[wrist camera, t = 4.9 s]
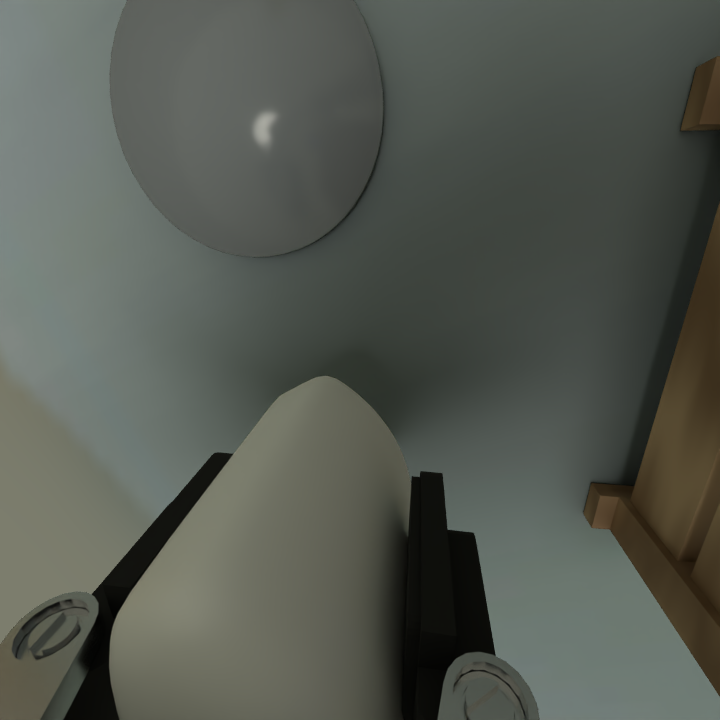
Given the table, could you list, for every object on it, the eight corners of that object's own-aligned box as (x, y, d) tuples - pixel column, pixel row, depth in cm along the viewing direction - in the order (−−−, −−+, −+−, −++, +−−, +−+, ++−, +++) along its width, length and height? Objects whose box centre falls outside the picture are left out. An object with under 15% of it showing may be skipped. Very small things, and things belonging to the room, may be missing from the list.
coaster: (96, -49, 12) (80, -62, 11) (388, -70, 11) (387, -86, 10) (148, 253, 15) (137, 254, 14) (380, 257, 14) (379, 259, 13)
